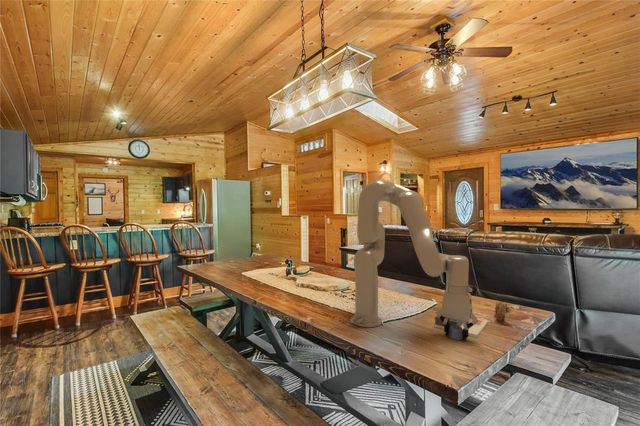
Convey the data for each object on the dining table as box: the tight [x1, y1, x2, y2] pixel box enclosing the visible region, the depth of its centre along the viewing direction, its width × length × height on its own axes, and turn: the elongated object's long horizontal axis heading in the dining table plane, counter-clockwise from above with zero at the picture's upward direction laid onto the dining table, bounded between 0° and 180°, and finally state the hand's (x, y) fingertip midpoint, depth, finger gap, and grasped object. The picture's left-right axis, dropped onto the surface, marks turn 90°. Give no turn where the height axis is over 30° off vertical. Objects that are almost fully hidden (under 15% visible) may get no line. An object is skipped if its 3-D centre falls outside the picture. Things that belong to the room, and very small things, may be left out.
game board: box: [434, 312, 489, 338], centre depth 134 cm, size 18×16×4 cm
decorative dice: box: [448, 325, 463, 341], centre depth 122 cm, size 4×4×4 cm
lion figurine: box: [493, 301, 512, 323], centre depth 140 cm, size 15×5×9 cm, turn 164°
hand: (456, 336), depth 122 cm, fingers closed on decorative dice, 5 cm apart
